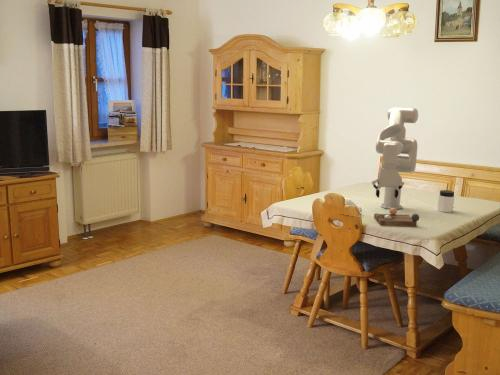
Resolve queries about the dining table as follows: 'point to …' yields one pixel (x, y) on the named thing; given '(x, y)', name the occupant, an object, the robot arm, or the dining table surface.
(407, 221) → the board
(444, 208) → the jar
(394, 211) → the terracotta ball
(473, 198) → the dining table surface
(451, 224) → the dining table surface
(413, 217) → the black ball
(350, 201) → the penguin figurine
